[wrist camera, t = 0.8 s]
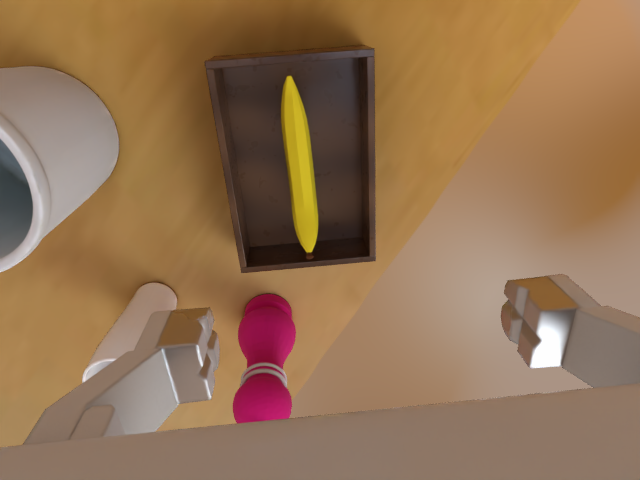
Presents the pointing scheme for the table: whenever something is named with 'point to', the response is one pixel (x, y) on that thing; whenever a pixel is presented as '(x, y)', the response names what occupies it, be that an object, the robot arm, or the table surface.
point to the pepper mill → (265, 360)
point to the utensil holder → (48, 154)
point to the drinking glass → (130, 325)
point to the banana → (299, 166)
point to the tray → (270, 162)
